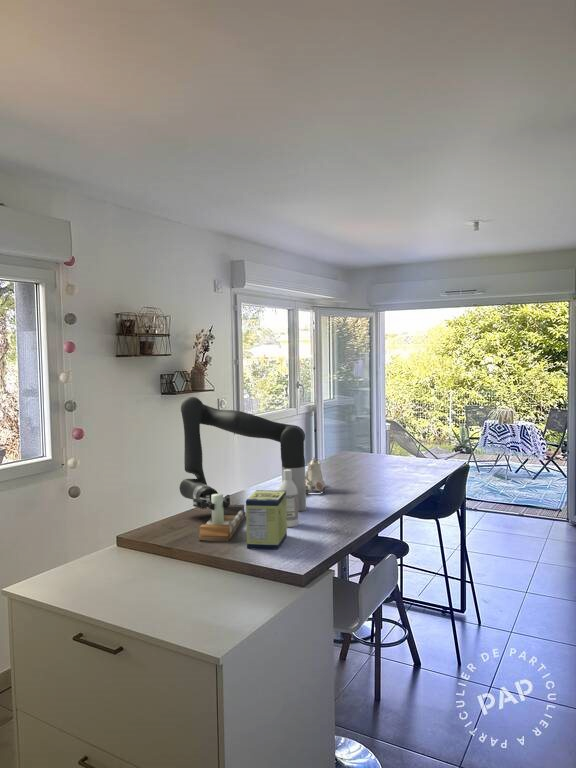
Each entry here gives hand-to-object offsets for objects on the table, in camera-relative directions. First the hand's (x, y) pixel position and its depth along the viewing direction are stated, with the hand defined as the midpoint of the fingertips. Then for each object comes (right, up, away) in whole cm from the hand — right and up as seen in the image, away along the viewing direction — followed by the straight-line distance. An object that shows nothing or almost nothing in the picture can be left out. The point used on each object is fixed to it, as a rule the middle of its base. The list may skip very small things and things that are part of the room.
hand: (219, 506), depth 198 cm
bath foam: (+23, -10, +14) cm, 29 cm away
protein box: (+16, -11, -6) cm, 20 cm away
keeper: (-1, -9, +3) cm, 9 cm away
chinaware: (+32, -8, +67) cm, 75 cm away
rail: (0, -10, +12) cm, 16 cm away
